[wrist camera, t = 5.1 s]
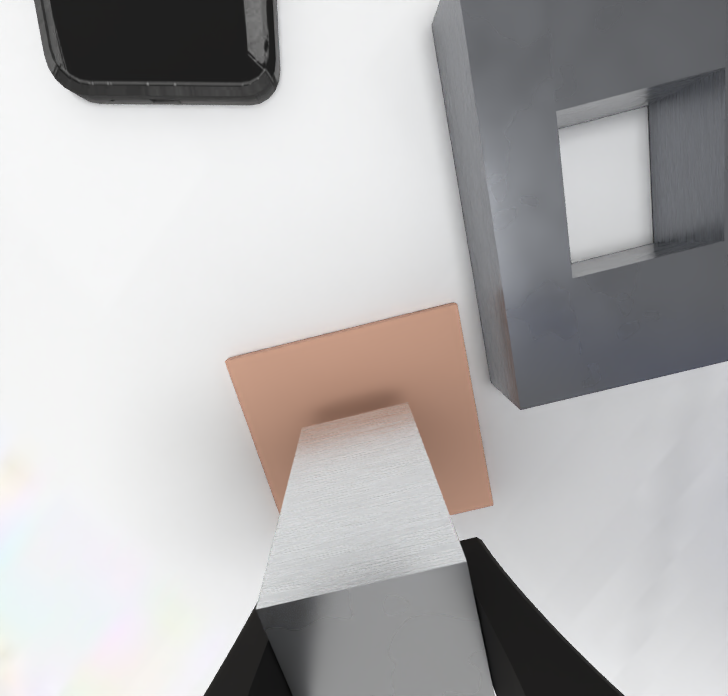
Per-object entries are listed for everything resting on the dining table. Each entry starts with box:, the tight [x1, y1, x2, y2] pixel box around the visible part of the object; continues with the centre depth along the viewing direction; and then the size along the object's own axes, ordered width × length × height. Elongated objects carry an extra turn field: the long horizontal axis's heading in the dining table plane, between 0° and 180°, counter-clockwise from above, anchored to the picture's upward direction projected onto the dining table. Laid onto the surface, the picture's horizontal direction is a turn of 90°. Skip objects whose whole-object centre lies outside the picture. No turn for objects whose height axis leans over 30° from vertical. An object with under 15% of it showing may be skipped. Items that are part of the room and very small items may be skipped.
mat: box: [225, 302, 493, 515], centre depth 17 cm, size 10×10×1 cm
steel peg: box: [256, 402, 495, 696], centre depth 11 cm, size 4×4×7 cm
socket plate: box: [432, 0, 728, 410], centre depth 13 cm, size 14×10×3 cm
